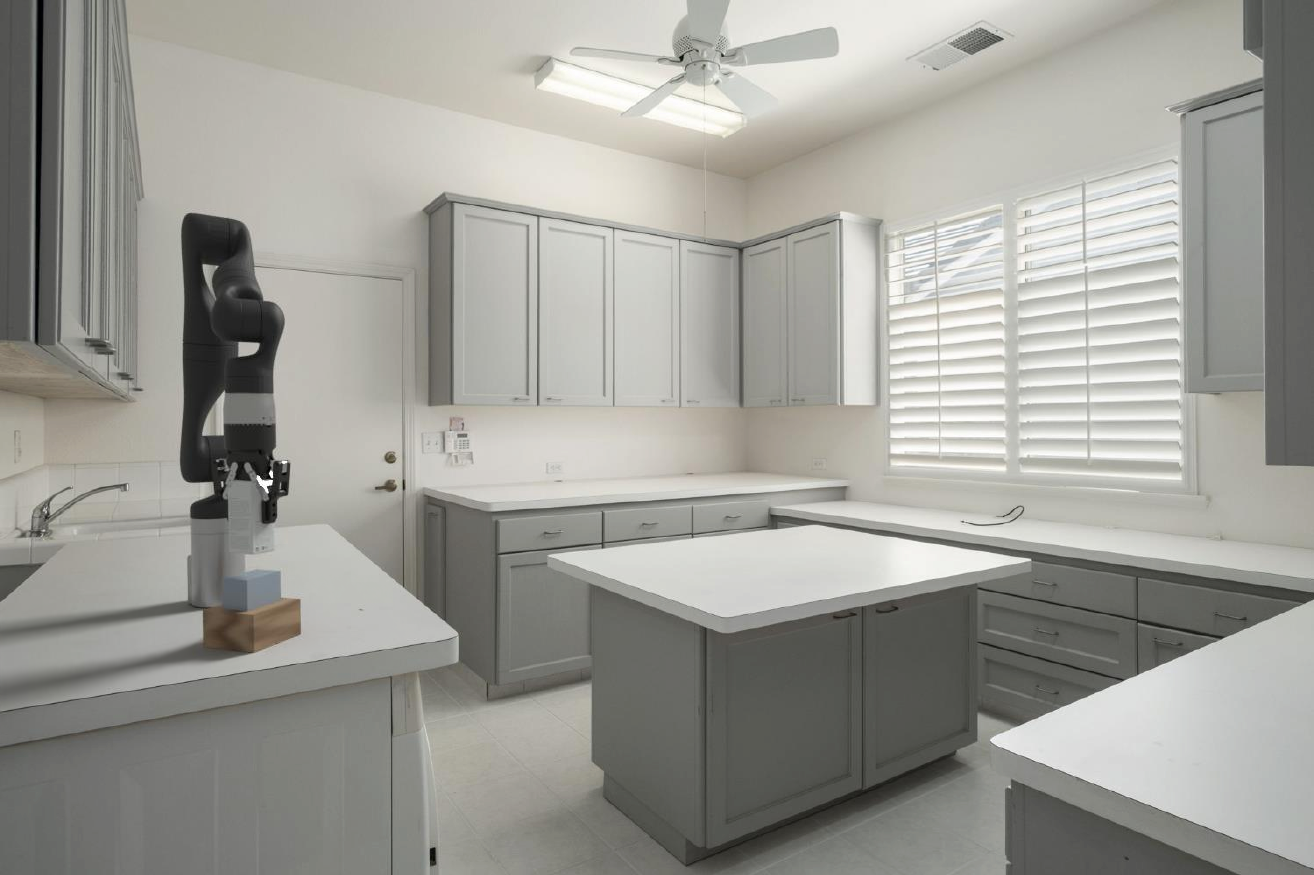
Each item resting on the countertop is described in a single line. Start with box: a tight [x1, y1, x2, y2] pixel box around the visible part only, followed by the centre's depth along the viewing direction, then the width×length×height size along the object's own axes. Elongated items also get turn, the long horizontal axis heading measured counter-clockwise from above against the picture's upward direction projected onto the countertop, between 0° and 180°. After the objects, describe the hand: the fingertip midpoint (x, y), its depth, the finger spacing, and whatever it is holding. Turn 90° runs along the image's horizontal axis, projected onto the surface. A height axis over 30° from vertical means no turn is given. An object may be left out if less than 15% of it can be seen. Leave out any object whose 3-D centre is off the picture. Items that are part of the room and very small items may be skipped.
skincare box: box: [228, 480, 276, 556], centre depth 120 cm, size 6×4×12 cm
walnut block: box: [202, 597, 302, 653], centre depth 120 cm, size 10×10×6 cm
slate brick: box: [222, 568, 282, 611], centre depth 120 cm, size 5×7×5 cm
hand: (251, 522), depth 120 cm, fingers closed on skincare box, 6 cm apart
